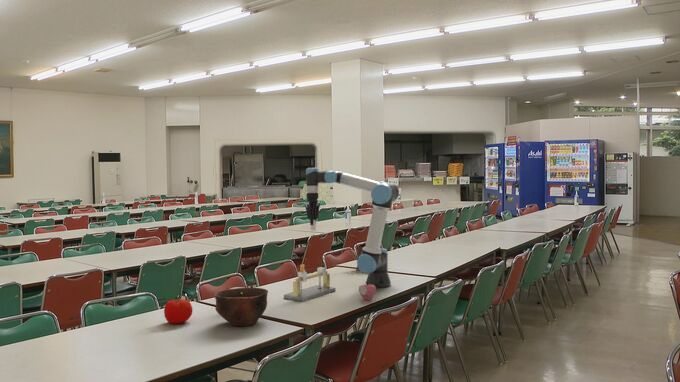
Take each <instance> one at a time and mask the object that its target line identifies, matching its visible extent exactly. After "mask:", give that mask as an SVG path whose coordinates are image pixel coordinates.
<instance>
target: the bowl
mask: <svg viewBox="0 0 680 382" xmlns="http://www.w3.org/2000/svg"><path fill="white" fill-rule="evenodd" d="M241 292H242V294H241ZM268 293H269V290H268V289H266V288H262V287H261V288H260V287H244V288H237V289H231V288H229V289H224V290H220V291H219V290H218V291H217V292H215V293H214V294H213V296H214V299H215V306H214V307H215V311H216V313H217V314H218V315H219V317H222V318H223V320H225V321H227V322H228V324H229V323H230V324H231V325H232V326H235V327H248V326H252V325H254V324H256V323H258V320H259V319H260V318H261V317H262V315H263V314H264V312H265V311H266V309H267V307H268Z"/></svg>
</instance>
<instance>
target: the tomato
mask: <svg viewBox="0 0 680 382" xmlns="http://www.w3.org/2000/svg"><path fill="white" fill-rule="evenodd" d="M171 299H172V300H168V301H167V302H166V304H165V305H164V308H163V312H164V313H163V314H164V318H165V320H166V321H167V322H168V323H169V324H172V325H174V324H176V323H177V324H182V323H185V322H187V321H189V319H190V318H191V317H192V315H193V312H194V311H193V306H192V304H191V302H190V301H188V300H187V299H182V298H181V297H180V298H173V297H171Z"/></svg>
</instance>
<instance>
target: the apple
mask: <svg viewBox="0 0 680 382" xmlns="http://www.w3.org/2000/svg"><path fill="white" fill-rule="evenodd" d="M376 291H377V288H376V287H375V286H374V285H372V284H371V285H369V284H368V283H367V280H366V281H365V284H361V285H359V287H358V292H359V294H360V297H361V298H362V300H363V301H371V300H372V298H373V297H374V295H375V294H376Z"/></svg>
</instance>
